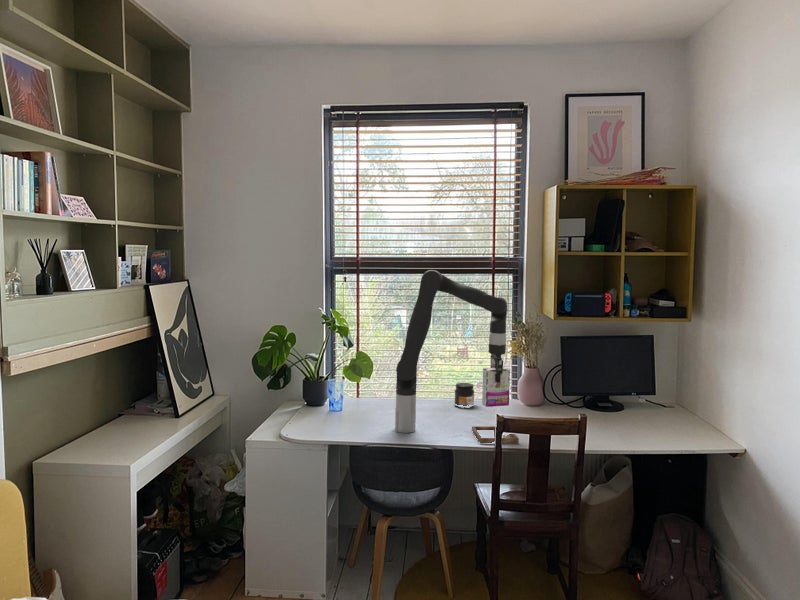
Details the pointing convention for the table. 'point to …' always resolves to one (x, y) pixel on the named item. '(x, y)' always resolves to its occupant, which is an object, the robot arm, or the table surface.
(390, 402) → the table surface
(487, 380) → the candy bar box
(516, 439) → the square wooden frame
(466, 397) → the supplement container
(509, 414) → the table surface
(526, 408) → the table surface
